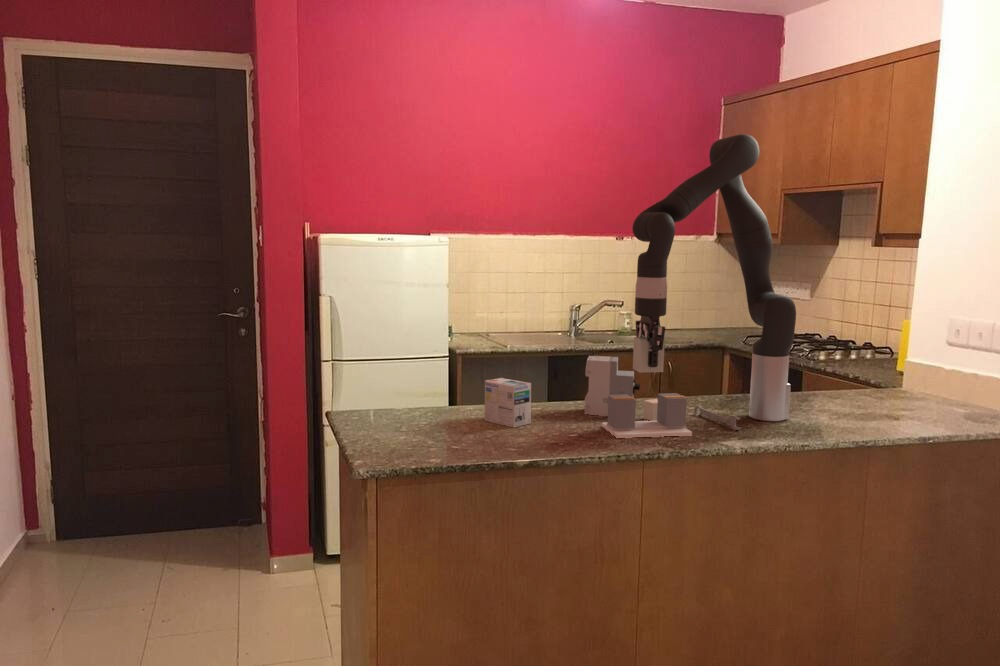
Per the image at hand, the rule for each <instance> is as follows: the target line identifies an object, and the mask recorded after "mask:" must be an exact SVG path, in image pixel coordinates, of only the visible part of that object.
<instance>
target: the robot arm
mask: <svg viewBox="0 0 1000 666" xmlns="http://www.w3.org/2000/svg"><path fill="white" fill-rule="evenodd" d="M708 156H709V162H710V164H709V166H707V167H706V168H704V169H702V170H700V171H699V172H698V173H696V174H694V175H692V176H690V177H689V178H688V179H686V180H684V181H682V182H681V183H680V184H679V185H678V186H677V187H675V188H674V189H673V190H672V191H671V192H669V194H668V195H666V197H664V198H663V199H661V200H659V201H657V202H656V203H655V204H652V205H651V206H649V207H648V208H646V209H643V211H641V212H640V213H639V214H638V215H637V216H636V218H635V219H634V221H633V223H632V234H633V236H634V237H635V238H636V239H637V240H639V241H641V242H645V243H648V247H647V249H646V251H644V252H642V253H640V254H639V255H638V256H637V264H636V265H637V266H636V270H637V271H636V283H635V290H634V291H635V293H634V295H635V296H634V315H637V316H640V320H635V337H645V339H646V341H647V342H648V351H649V352H648V366H649V367H657V365H658V352H659V351H660V350H662V349H663V342H664V339H665V334H666V327H665V326H664V325H663V326H662V325H661V320H660V319H661V317H664V316H666V315H667V300H668V299H667V297H668V281H667V276H668V274H667V272H668V260H669V256H670V252H671V250H672V246H673V243H674V238H675V234H676V224H675V223H678V222H681V221H683V220H685V219H686V218H687V217H689V216H690V215H691V214H692V213H693V212H694V211H695V210H696V209H697V208H698V207H700V205H702V204H703V203H704V202H705V201H706V200H707V199H709V198H710V197H711V196H712V195H714V194H715V193H716V192H717V191H718V190H719V191H720V194H721V197H722V200H723V203H724V206H725V207H724V208H725V211H726V214H727V217H728V218H727V219H728V222H729V226H730V232H731V234H732V235H731V236H732V239H733V243H734V246H735V247H734V248H735V250H736V253H737V256H738V260H739V261H738V262H739V264H740V269H741V273H742V276H743V281H744V286H745V294H746V303H747V309H748V313H749V316H750V319H751V320H752V321H753V323H755V325H758V327H762V333H761V336H760V339H758V340H757V341H754V342H753V344H752V352H751V353H752V355H751V371H750V372H751V373H750V375H751V376H750V390H749V406H748V407H749V408H748V412H749V413H748V417H750V418H751V419H754V420H758V421H759V420H760V421H765V422H766V421H767V422H783V421H784V420H789V417H790V405H791V404H790V403H791V402H790V401H791V385H792V384H790V383H789V382H788V380H789V365H790V350H791V348H792V346H793V343H794V339H795V332H796V331H795V330H796V321H797V309H796V308H797V307H796V304H795V303H794V300H793V299H792V298H791V297H789V296H788V295H786V294H785V295H784V294H779V293H775V290H774V286H773V283H772V280H771V274H770V264H771V258H772V254H773V253H772V252H773V247H774V246H773V245H774V243H773V237H772V234H771V233H772V232H771V229H770V225H769V221H768V218H767V217H766V214H765V213H764V212H763V210H762V209H761V207H760V206H759V204H757V202H756V201H755V200H754V199H753V198H752V197H751V195H750V194H749V193H748V191H747V189H746V187H745V184H744V182H743V178H742V174H744V173H745V172H747V171H748V170H750V169H752V168H753V167H754V166H755V165H756V163H757V162H758V159H759V156H760V146H759V143H758V142H757V139H755V138H754V136H752V135H750V134H746V133H745V134H744V133H742V134H736V135H732V136H727V137H724V138H720V139H717V140H716V141H714V142H712V145H711V146H710V150H709V155H708ZM651 338H652V339H651ZM651 342H652V344H651ZM659 342H660V343H659ZM655 343H656V345H655Z"/></svg>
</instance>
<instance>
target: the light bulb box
mask: <svg viewBox="0 0 1000 666" xmlns="http://www.w3.org/2000/svg"><path fill="white" fill-rule="evenodd" d="M531 410H532V383H531V382H526V381H521V380H514V379H508V378H504V377H499V378H494V379H486V380H484V421H485V422H489V423H493V424H497V425H500V426H504V425H505V427H510V428H518V427H523V426H526V425H530V424H531V420H532V419H531V418H532V416H531V415H532V411H531Z"/></svg>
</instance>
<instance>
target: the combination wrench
mask: <svg viewBox="0 0 1000 666" xmlns="http://www.w3.org/2000/svg"><path fill="white" fill-rule="evenodd" d="M698 409H699V410H700V412H698ZM693 412H694V414H695V415H696V414H698V415H702V416H704V417H707V418H711V419H712V420H716V421H719V422H720V423H721V422H722V423H724V424H726V425H729V427H731V430H732V429H734V430H733V431H735V430H739V431H740V430H741V429H742V427H739V426H737V421H739V420H741V418H740V417H738V416H737V415H733V416H731V417H730V418H729V417H726V416H723V415H720V414H718V413H715V412H714V411H713V412H712V411H710V410H708V409H705V408H703V406H701V405H695V407H694V409H693ZM698 415H697V416H698Z"/></svg>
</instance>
